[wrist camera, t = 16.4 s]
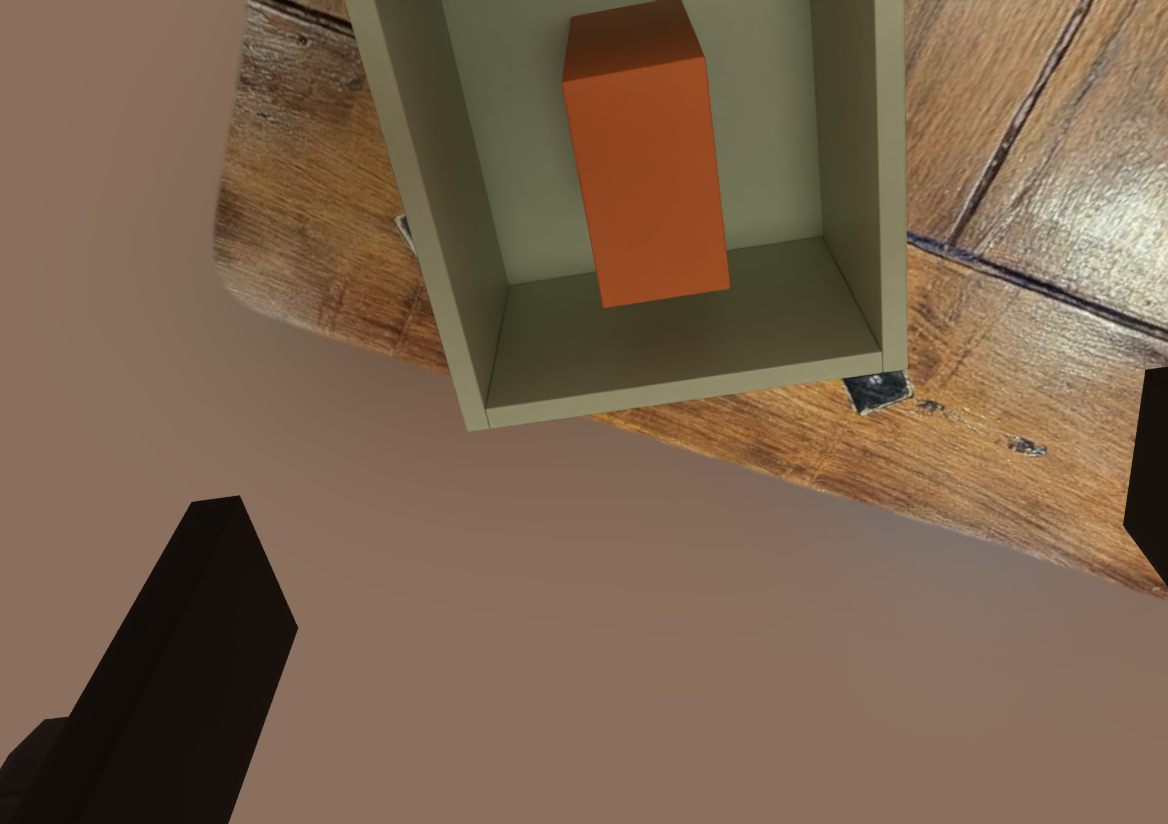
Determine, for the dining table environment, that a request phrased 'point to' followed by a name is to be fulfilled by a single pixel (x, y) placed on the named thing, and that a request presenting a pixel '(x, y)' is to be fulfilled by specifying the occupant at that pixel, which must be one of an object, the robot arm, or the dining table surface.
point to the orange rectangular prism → (645, 152)
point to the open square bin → (558, 222)
